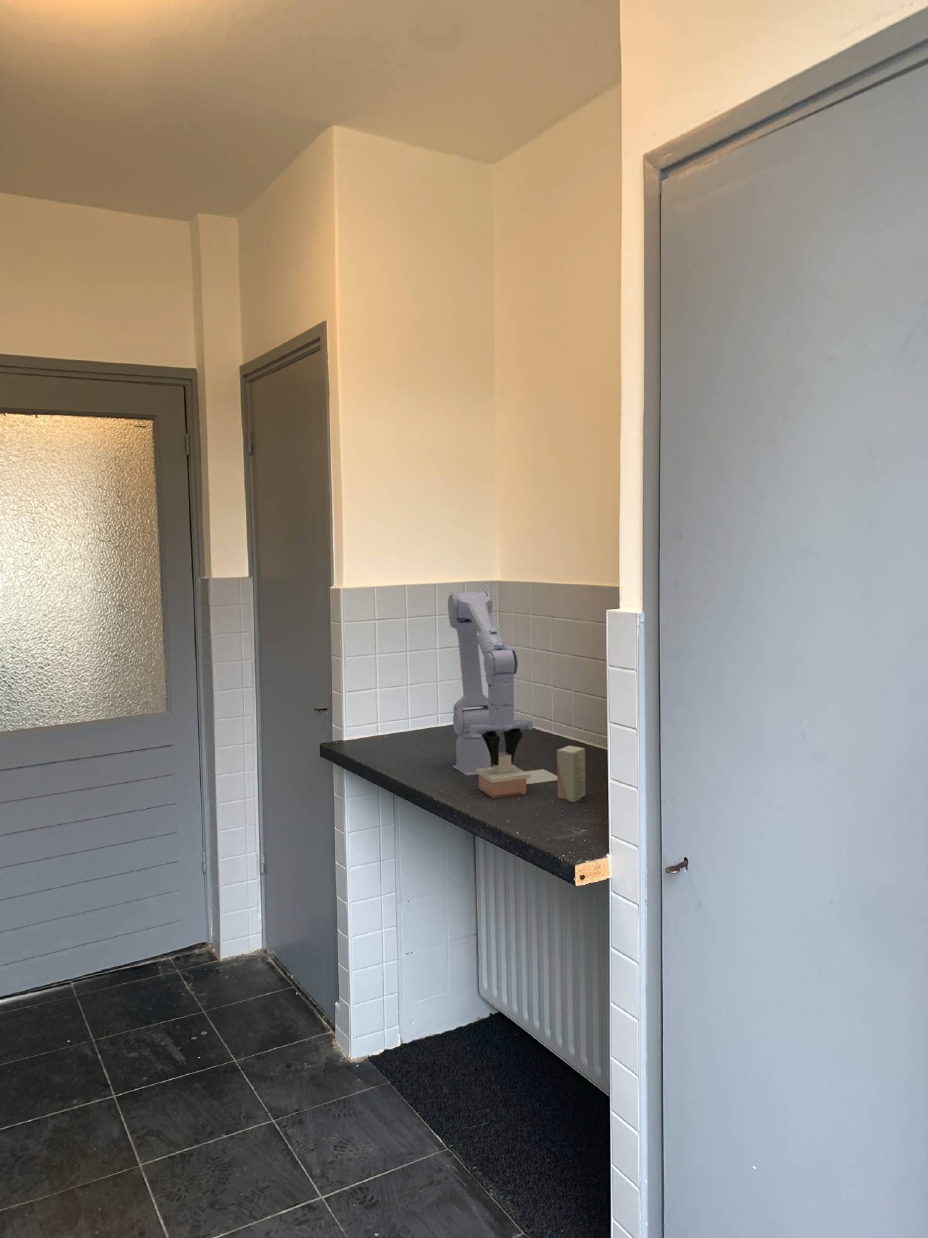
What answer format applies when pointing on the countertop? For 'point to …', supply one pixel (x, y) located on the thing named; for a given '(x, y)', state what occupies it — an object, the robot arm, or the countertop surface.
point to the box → (571, 773)
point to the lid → (502, 770)
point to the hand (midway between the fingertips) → (502, 763)
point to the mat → (540, 776)
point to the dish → (502, 787)
